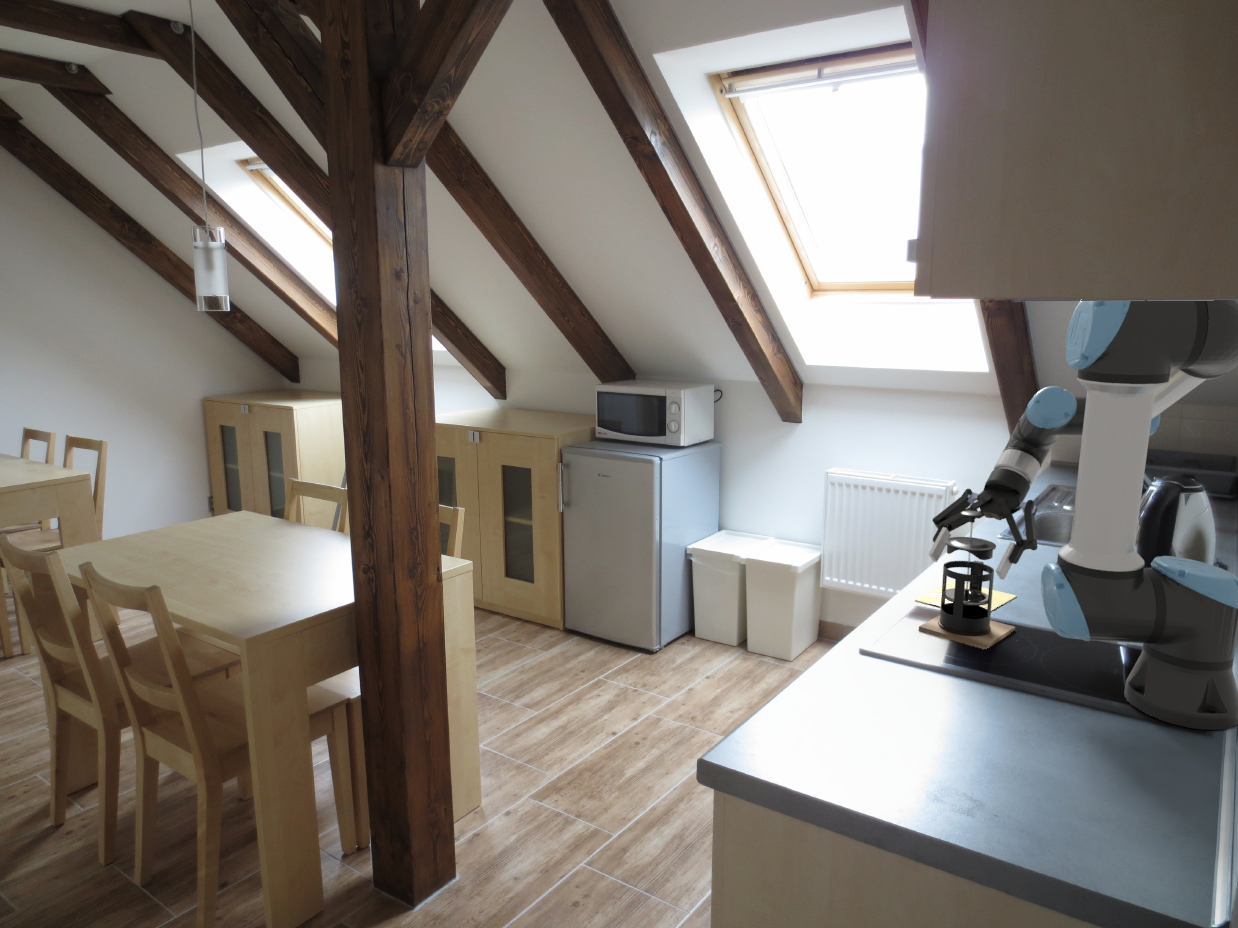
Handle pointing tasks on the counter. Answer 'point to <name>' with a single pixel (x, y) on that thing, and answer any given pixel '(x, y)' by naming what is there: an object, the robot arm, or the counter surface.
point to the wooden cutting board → (981, 642)
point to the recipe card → (997, 596)
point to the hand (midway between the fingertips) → (964, 566)
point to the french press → (966, 602)
